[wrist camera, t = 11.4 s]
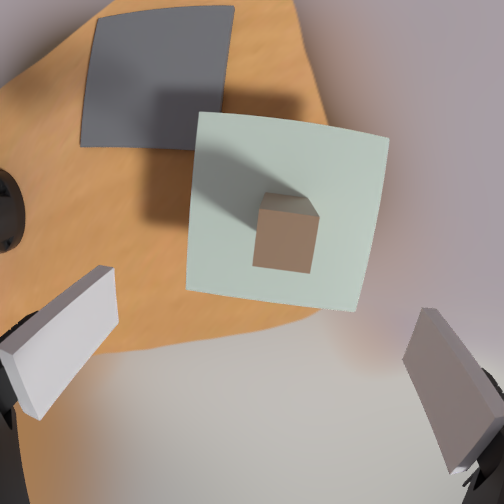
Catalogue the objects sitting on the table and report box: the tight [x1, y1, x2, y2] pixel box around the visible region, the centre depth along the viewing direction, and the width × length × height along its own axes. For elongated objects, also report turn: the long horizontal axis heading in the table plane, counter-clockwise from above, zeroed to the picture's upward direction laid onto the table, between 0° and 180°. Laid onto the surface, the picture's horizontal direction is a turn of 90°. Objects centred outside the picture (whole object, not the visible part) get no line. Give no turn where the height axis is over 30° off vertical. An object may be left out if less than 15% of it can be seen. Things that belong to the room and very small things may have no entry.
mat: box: [80, 6, 235, 150], centre depth 35 cm, size 20×20×1 cm
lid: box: [186, 112, 389, 312], centre depth 26 cm, size 18×18×10 cm
